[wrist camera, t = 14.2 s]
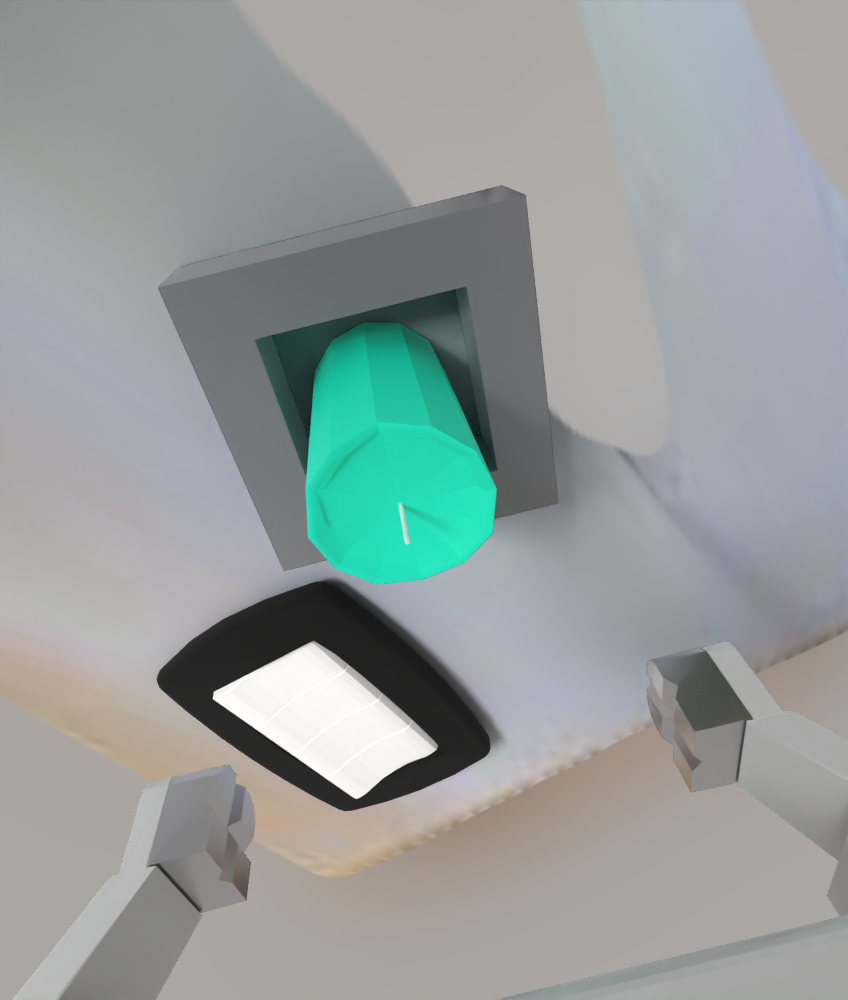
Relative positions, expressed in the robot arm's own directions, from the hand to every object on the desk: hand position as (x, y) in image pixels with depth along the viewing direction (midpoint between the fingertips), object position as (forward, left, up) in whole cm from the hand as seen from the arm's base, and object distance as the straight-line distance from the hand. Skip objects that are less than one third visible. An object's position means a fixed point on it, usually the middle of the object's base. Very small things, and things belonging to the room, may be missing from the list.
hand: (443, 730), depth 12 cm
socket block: (0, 0, -19) cm, 19 cm away
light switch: (+20, -8, -19) cm, 29 cm away
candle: (0, 0, -19) cm, 19 cm away
